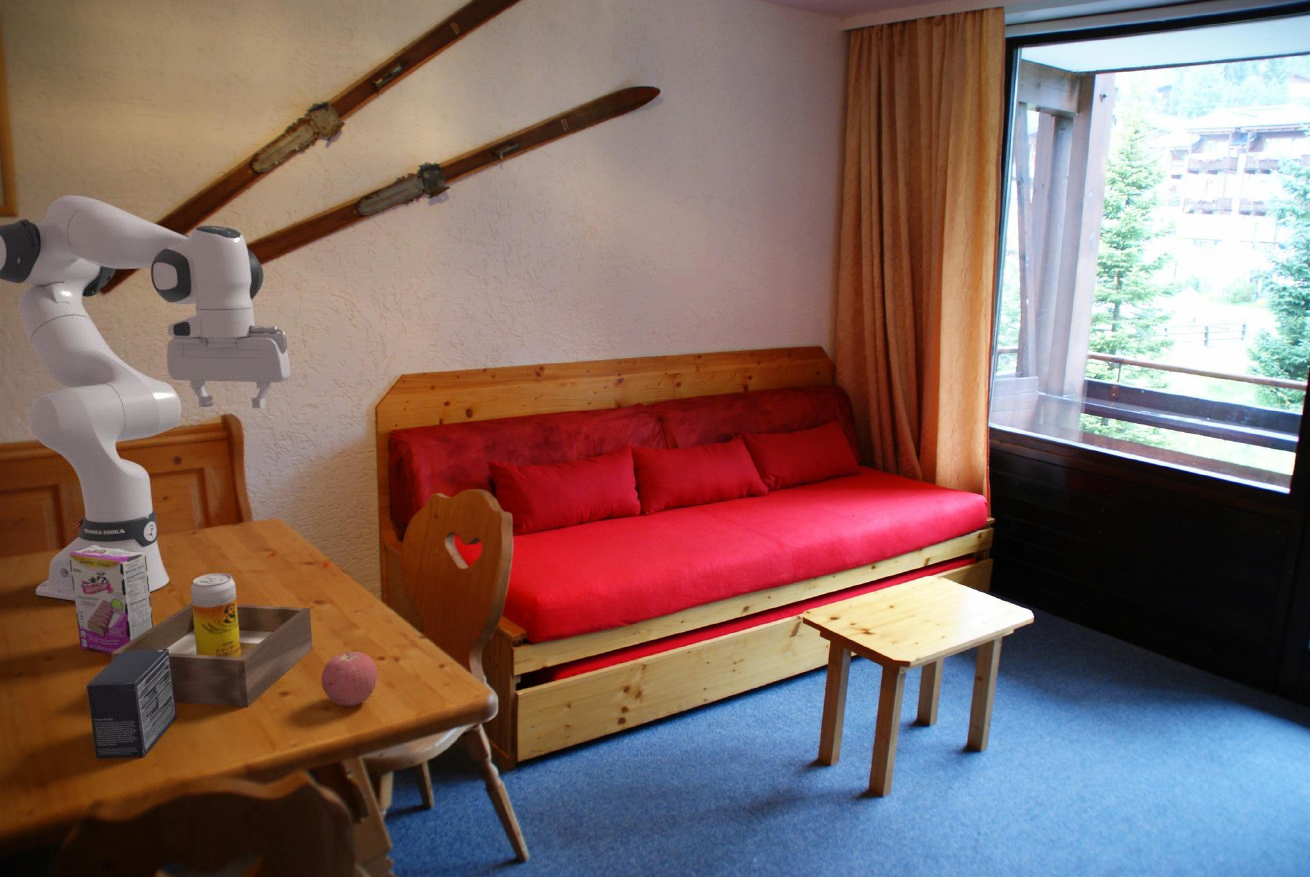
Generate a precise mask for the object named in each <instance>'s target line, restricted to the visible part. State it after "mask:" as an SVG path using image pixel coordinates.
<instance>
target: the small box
mask: <svg viewBox="0 0 1310 877" xmlns="http://www.w3.org/2000/svg"><path fill="white" fill-rule="evenodd" d="M86 692H87V699H88V705H89V713H90V720H91V728H92V734H93V735H92V736H93V738H92V739H93V743H94V752H95V753H94V754H95V759H96V760H97V759H99V760H100V759H101V760H102V759H124V758H125V759H126V758H127V759H128V758H144V757H146V756H147V754H149V752H150V751H151V750H152V749H153V747H154V746H155V745H156V744H157V743H158V742H159V740H160V739H161V738H162V737H163V735H164V734H165V733H166V732H167V731H168V729H169V728H170V727H171V726H172V725H173V724H174V722H175V721H176V719H178V715H177V714H178V713H177V707H176V704H175V703H176V702H175V701H174V694H173V685H172V675H171V667H170V657H169V649H150V650H129V651H123V652H122V653H121V654H119V655H118V656H117V657H116V658H115V659H114V660H113V661H111V662H109V664H107V665H106V666H105V667H104V668H103V669H102V670H101V671H100V672H99V673H97V674H96V675H95V676H94V677H93V678H92V679H91V680H90V681H89V682H88V683H87V684H86Z"/></svg>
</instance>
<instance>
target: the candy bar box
mask: <svg viewBox="0 0 1310 877" xmlns="http://www.w3.org/2000/svg"><path fill="white" fill-rule="evenodd" d="M69 557H70V566H71V574H72V581H73V590H74V597H75V601H74V604H75V610H76V611H75V612H76V621H77V629H78V637H79V638H78V639H79V647H80V649H82V650H87V651H92V652H97V653H101V654H102V653H103V654H107V655H111V653H112V652H114V651H115V650H117V649H119V648H120V647H122V646H123V645H125V644H127V643H128V642H130V641H131V640H133V639H135V638H136V637H138V636H139V635H141V634H143V633H144V632H146V631H147V630H149V629H151V628H152V627H154V623H153V615H152V614H153V613H152V612H153V611H152V604H151V593H150V591H149V582H148V572H147V563H146V553H141V552H135V551H128V550H122V549H115V548H109V547H103V546H97V545H93V546H90V547H87V548H83V549H80V550H77V551H74V552H72V553H70V554H69Z"/></svg>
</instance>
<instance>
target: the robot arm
mask: <svg viewBox="0 0 1310 877" xmlns="http://www.w3.org/2000/svg"><path fill="white" fill-rule="evenodd" d="M116 269H117V270H131V269H133V270H134V269H136V270H137V269H150V277H151V283H152V285H153V288H154V289H155V291H156V293H157V294H158V295H159V297H160V298H162V299H163V300H165V301H166V302H168V303H171V304H172V303H173V304H179V305H195V315H194V316H191V317H188V318H185V319H183V320H179V321H176V322H172V323H170V324H168V325H167V333H168V336H169V337H171V339H170V340H169V341H168V342H167V346H166V347H167V348H166V364H167V365H166V366H167V373H168V375H169V376H170V377H171V379H172V380H173V381H190V388H191V389H192V391H193V392H194V394H195V395H196V397H197V398H198V406H199V407H200V408H211V407H213V405H214V401H213V395H208V393H207V391H206V389H205V387H204V386H206V382H235V383H237V382H238V383H239V382H240V383H245V382H246V383H248V382H249V383H256V389H259V391H258V393H257V395H256V396H255V397H251V403H252V404H251V408H252V409H259V410H260V409H261V410H262V409H265V408H266V398H267V395H268V393H269V391H270V390H271V387H272V386H271V383H276V384H277V383H282V382H286V381H288V379H289V378H290V376H291V372H292V371H291V365H290V364H291V363H290V359H289V353H288V350H287V349H288V338H287V335H286V333H285V332H284V331H283V330H282V329H279V328H278V327H277V326H260V325H259V326H257V325H256V326H255V314H254V312H255V311H254V304H253V301H252V300H253V299H254V298H255V297H256V296H257V295H258V293H259V292H260V290H261V288H262V286H263V282H264V269H263V267H262V264H261V262H260V261H259V259H258V258H257V256H256V255H255V254H254V253H253V252H252V251H251V250H250V249H249V248H248V246H247V244H246V240H245V237H244V235H243V234H242V233H241V232H240V231H239V230H236V229H234V228H230V227H226V226H216V225H200V226H197V227H195V228H193V229H192V230H191V233H190V235H186V234H183V233H180V232H177V231H174V230H172V229H169V228H166V227H164V226H162V225H159V224H156V223H154V222H151V221H148V220H147V219H144V218H141V217H139V216H137V215H135V214H132V213H130V212H128V211H126V210H123V209H121V208H119V207H117V206H114V205H112V204H111V203H108V202H104V201H103V200H98V199H96V198H92V197H88V196H82V195H72V194H71V195H70V194H69V195H65V196H61V197H59V198H57V199H55V200H54V201H53V202H52V203H51V204H50V205H49V207H48V208H47V210H46V214H45V218H44V219H43V221H41V222H37V223H34V222H30V221H29V219H27V218H23V219H20V220H18V221H16V222H14V223H13V222H12V223H8V224H3V225H0V280H2V281H6V282H10V283H15V284H22V283H23V284H24V283H25V284H29V285H31V286H30V287H28V288H27V289H25V290H24V291H23V292H22V293H21V294H20V296H19V298H18V301H17V311H18V314H19V318H20V320H21V324H22V328H23V330H24V332H25V334H26V336H27V339H28V341H29V342H30V344H31V346H32V348H33V350H34V351H35V353H36V355H37V356H38V358H39V361H40V362H41V364H42V366H43V368H44V369H45V371H46V373H47V374H48V376H49V377H50V378H51V379H52V380H53V381H55V382H56V383H58V384H60V385H61V386H64V387H65V388H60V389H58V390H54V391H52V392H48V393H45V394H42V395H40V396H38V397H37V398H36V399H35V401H34V402H33V403H32V405H31V407H30V411H29V416H28V421H29V426H30V430H31V432H32V434H33V435H34V437H35V438H36V439H37V441H39V442H40V444H41V445H43V446H45V448H48V449H51V450H53V451H54V452H56V453H58V454H59V455H60V456H62V457H63V458H64V459H65V460H66V461H67V462H68V463H69V464H70V465H71V467H72V468H73V470H74V472H75V473H76V475H77V478H78V480H79V484H80V489H81V493H82V499H83V506H84V512H85V517H82V518H81V519H80V520H78V521H76V522H73V523H71V524H72V525H73V528H72V529H73V530H76V529H78V528H80V529H79V533H78V537H76V538H75V539H74V540H73V541H72V542H71V543H69V544H68V545H66V547H64V548H63V549H62V550H61V551H60V552H58V553H57V554H56V555H55V556H54V557H52V558H51V561H50V564H49V569H48V579H47V580H46V579H45V581H43V582H41V583H40V584H39V585H38V586H37V587H36V588H35V595H36V596H39V597H41V596H42V597H49V598H55V599H60V600H61V599H62V600H69V601H74V602H75V597H74V590H73V581H72V574H71V566H70V557H69V554H70V553H72V552H74V551H77V550H80V549H83V548H87V547H90V546H93V545H97V546H103V547H109V548H115V549H122V550H128V551H135V552H141V553H146V563H147V572H148V582H149V591H150V592H154V591H156V590H158V589H160V588H162V587H164V586H166V585H167V584H168V583H169V581H170V577H169V576H168V573H167V571H166V568H165V565H164V563H163V560H162V556H161V553H160V549H159V546H158V544H159V543H158V523H157V521H158V520H157V514H156V510H154V508H153V501H152V490H151V481H150V480H151V479H150V475H149V473H148V472H147V470H146V468H144V467H143V466H142V465H140V464H138V463H137V462H134V461H130V460H127V459H125V458H121V457H120V456H119V454H118V451H117V447H116V444H117V443H120V442H121V443H122V442H127V441H132V440H133V441H134V440H140V439H145V438H151V437H153V436H157V435H160V434H162V433H165V432H168V431H170V430H172V429H174V428H175V427H176V426H177V424H178V422H179V420H180V418H181V416H182V402H181V398H180V396H179V394H178V393H177V391H176V390H175V389H174V387H173V386H172V385H170V384H169V383H167V382H165V381H162V380H159V379H155V378H153V377H150V376H148V375H147V374H144V373H142V372H140V371H138V370H137V369H135V368H134V367H132V366H131V365H129V364H128V363H127V362H125V361H124V360H122V358H120V357H119V356H118V355H117V354H116V353H115V352H114V351H113V350H112V349H111V348H110V346H109V345H108V343H107V342H106V340H105V339H104V337H103V336H102V335H101V333H100V331H99V330H98V328H97V327H96V325H95V323H94V321H93V320H92V318H91V317H90V315H89V312H87V310H86V309H85V307H84V305H83V297H87V298H89V297H93V296H95V295H97V294H98V293H99V291H100V289H101V288H103V287H104V286H106V285H107V283H109V281H110V280H111V279H112V277H113V276H114V275H115V273H116ZM74 525H75V526H74Z"/></svg>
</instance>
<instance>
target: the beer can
mask: <svg viewBox="0 0 1310 877" xmlns="http://www.w3.org/2000/svg"><path fill="white" fill-rule="evenodd" d="M232 577H233V576H232V575H231V574H230V573H225V572H224V573H222V572H221V573H220V572H219V573H218V572H217V573H208V574H204V575H200V576H198V577H195V578H194V579H193V580H192V585H191V587H190V595H191V603H192V609H193V620H194V631H195V642H196V652H197V655H210V656H227V657H241V650H240V638H239V625H238V613H237V605H238V603H237V601H238V600H237V592H236V583H235V581H234V578H232Z"/></svg>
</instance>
